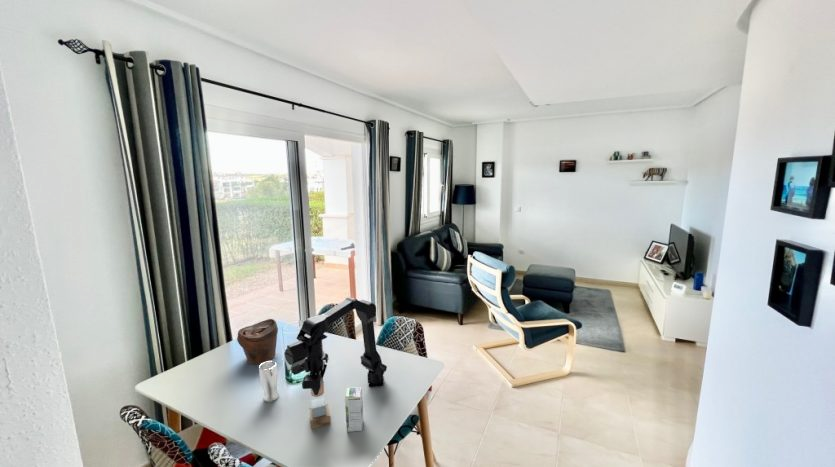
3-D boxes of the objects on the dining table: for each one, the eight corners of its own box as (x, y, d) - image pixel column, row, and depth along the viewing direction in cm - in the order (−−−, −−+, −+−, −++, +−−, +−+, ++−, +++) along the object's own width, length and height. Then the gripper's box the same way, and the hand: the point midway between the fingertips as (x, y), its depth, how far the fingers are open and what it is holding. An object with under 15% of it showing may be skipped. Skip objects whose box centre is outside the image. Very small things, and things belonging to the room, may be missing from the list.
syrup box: (348, 420, 134) (346, 387, 131) (363, 419, 134) (361, 386, 131) (346, 432, 128) (344, 397, 125) (362, 431, 129) (360, 396, 126)
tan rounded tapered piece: (325, 388, 135) (324, 378, 134) (323, 396, 130) (322, 386, 129) (312, 389, 134) (311, 379, 134) (309, 397, 130) (309, 387, 129)
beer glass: (283, 393, 150) (280, 362, 147) (272, 404, 144) (268, 371, 141) (270, 390, 153) (266, 359, 149) (258, 400, 146) (254, 368, 143)
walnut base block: (328, 412, 139) (327, 403, 138) (330, 424, 133) (329, 415, 132) (310, 416, 137) (309, 408, 136) (311, 429, 130) (310, 420, 130)
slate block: (325, 406, 137) (324, 397, 136) (326, 414, 132) (325, 405, 131) (311, 409, 135) (310, 400, 134) (312, 418, 131) (311, 408, 130)
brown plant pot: (231, 366, 171) (226, 332, 167) (257, 345, 190) (254, 314, 186) (263, 371, 167) (259, 336, 163) (287, 349, 186) (284, 318, 182)
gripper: (298, 340, 137) (301, 376, 141) (285, 368, 119) (288, 408, 122) (327, 339, 138) (329, 375, 141) (318, 366, 120) (321, 406, 123)
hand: (317, 390), depth 132 cm, fingers closed on tan rounded tapered piece, 5 cm apart
